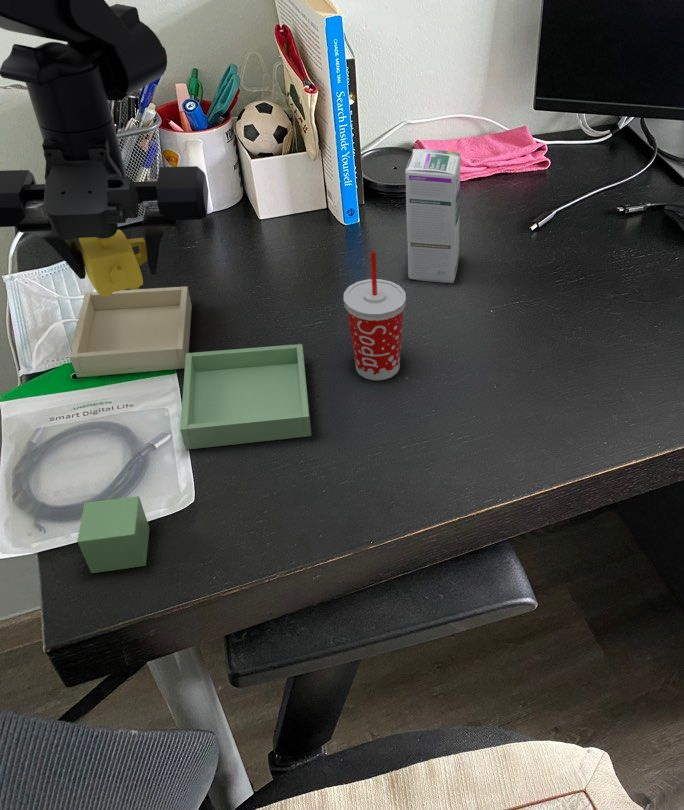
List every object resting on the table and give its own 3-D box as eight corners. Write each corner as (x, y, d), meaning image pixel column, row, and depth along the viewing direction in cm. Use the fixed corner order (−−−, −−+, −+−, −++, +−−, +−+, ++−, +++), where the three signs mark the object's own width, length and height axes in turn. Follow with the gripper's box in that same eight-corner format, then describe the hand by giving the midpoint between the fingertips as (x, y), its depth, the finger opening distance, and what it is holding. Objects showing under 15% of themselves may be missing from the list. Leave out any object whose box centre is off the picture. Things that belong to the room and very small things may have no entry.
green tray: (185, 450, 75) (180, 429, 73) (190, 373, 83) (185, 352, 81) (311, 436, 78) (309, 416, 76) (304, 363, 86) (302, 343, 84)
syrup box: (454, 284, 100) (458, 173, 90) (406, 279, 99) (404, 168, 90) (459, 259, 104) (463, 151, 94) (412, 255, 104) (412, 146, 94)
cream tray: (76, 377, 81) (69, 357, 79) (91, 312, 89) (84, 292, 87) (187, 368, 83) (182, 348, 82) (191, 305, 91) (187, 286, 90)
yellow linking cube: (166, 295, 80) (155, 249, 77) (103, 311, 77) (88, 264, 74) (143, 256, 85) (131, 211, 81) (83, 270, 82) (68, 224, 78)
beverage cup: (336, 372, 85) (326, 256, 76) (369, 342, 90) (363, 228, 80) (387, 392, 84) (383, 276, 74) (417, 360, 88) (417, 247, 79)
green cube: (90, 574, 64) (76, 541, 62) (97, 534, 67) (83, 502, 64) (146, 566, 65) (134, 534, 63) (149, 527, 68) (139, 495, 65)
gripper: (-77, 163, 62) (-7, 330, 72) (188, 158, 67) (218, 315, 77) (-41, 105, 70) (17, 263, 80) (193, 104, 75) (220, 253, 85)
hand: (118, 274), depth 80 cm, fingers closed on yellow linking cube, 6 cm apart
